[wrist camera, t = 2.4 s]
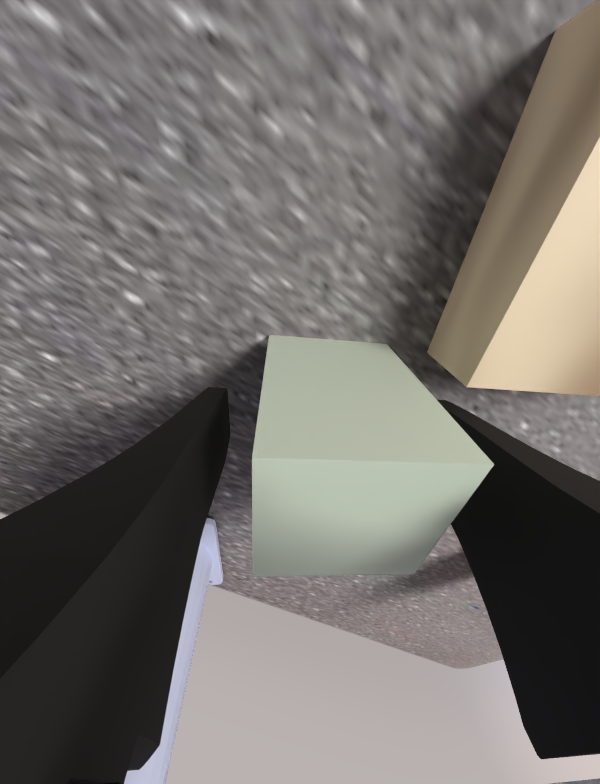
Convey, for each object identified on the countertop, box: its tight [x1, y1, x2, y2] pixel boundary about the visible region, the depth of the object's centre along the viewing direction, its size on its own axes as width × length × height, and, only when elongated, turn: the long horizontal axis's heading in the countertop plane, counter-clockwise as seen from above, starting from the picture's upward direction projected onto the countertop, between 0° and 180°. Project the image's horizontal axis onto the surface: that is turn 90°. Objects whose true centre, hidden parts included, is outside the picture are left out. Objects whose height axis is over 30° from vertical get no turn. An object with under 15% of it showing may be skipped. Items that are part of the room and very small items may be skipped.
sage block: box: [252, 335, 494, 577], centre depth 8 cm, size 4×4×6 cm
